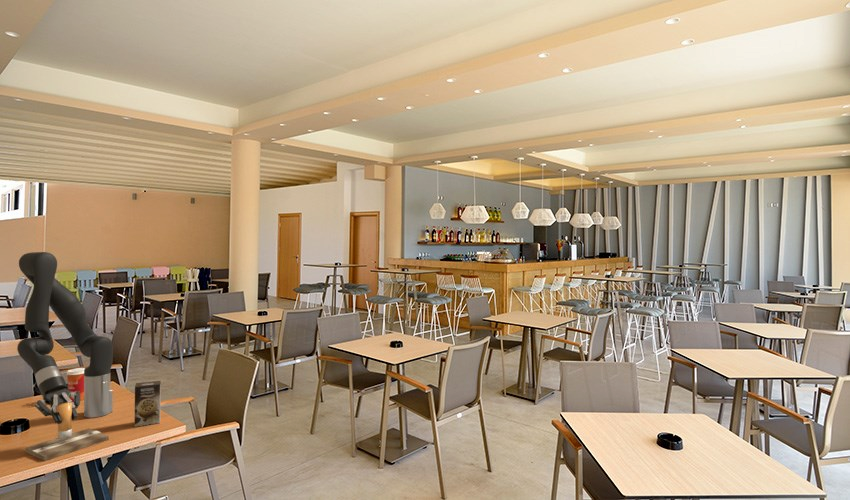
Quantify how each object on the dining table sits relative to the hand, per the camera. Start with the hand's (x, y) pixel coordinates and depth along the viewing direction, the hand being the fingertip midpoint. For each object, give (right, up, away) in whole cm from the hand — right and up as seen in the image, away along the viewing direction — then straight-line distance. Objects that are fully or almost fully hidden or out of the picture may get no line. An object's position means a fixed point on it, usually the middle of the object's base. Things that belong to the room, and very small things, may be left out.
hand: (67, 420), depth 168 cm
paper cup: (-34, -9, +51) cm, 62 cm away
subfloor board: (-1, -10, +2) cm, 10 cm away
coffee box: (+15, -10, +24) cm, 30 cm away
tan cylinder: (-2, -7, +1) cm, 7 cm away
